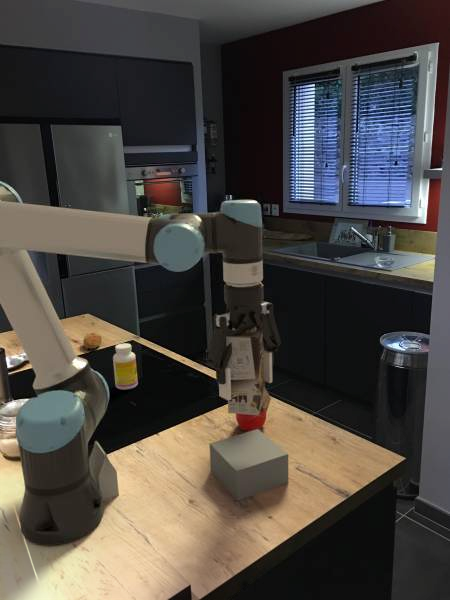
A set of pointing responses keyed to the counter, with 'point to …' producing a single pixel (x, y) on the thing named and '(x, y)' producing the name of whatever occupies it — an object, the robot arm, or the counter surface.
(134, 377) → the supplement bottle
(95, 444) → the white carton
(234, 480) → the riser block
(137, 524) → the counter surface
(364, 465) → the counter surface
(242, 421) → the water bottle
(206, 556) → the counter surface
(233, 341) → the coffee box
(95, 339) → the pastry
